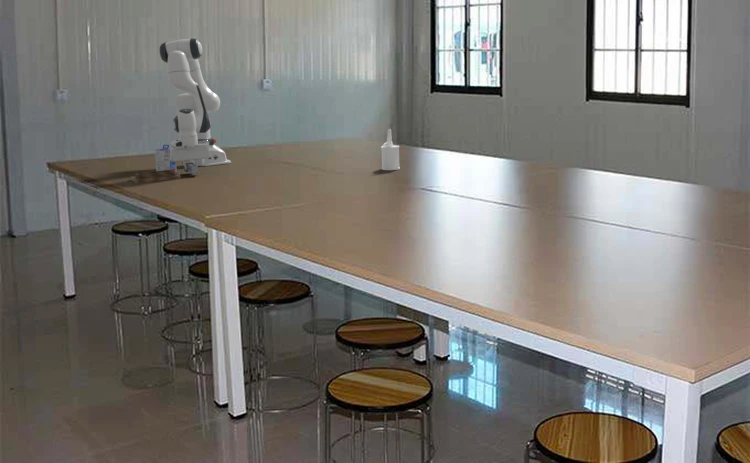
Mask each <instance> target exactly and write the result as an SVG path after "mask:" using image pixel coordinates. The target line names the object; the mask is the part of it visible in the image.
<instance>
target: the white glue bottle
mask: <svg viewBox="0 0 750 463" xmlns="http://www.w3.org/2000/svg"><path fill="white" fill-rule="evenodd" d="M392 134H393V133H392V129H391V128H388V129H387V134H386V135H387V137H386V142H384V143H382V146H380V149H381V170H383V171H397V170H400V169H401V167H400V145H396V144H393V143H394V142H393V141H392V140H393V138H392Z"/></svg>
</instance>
